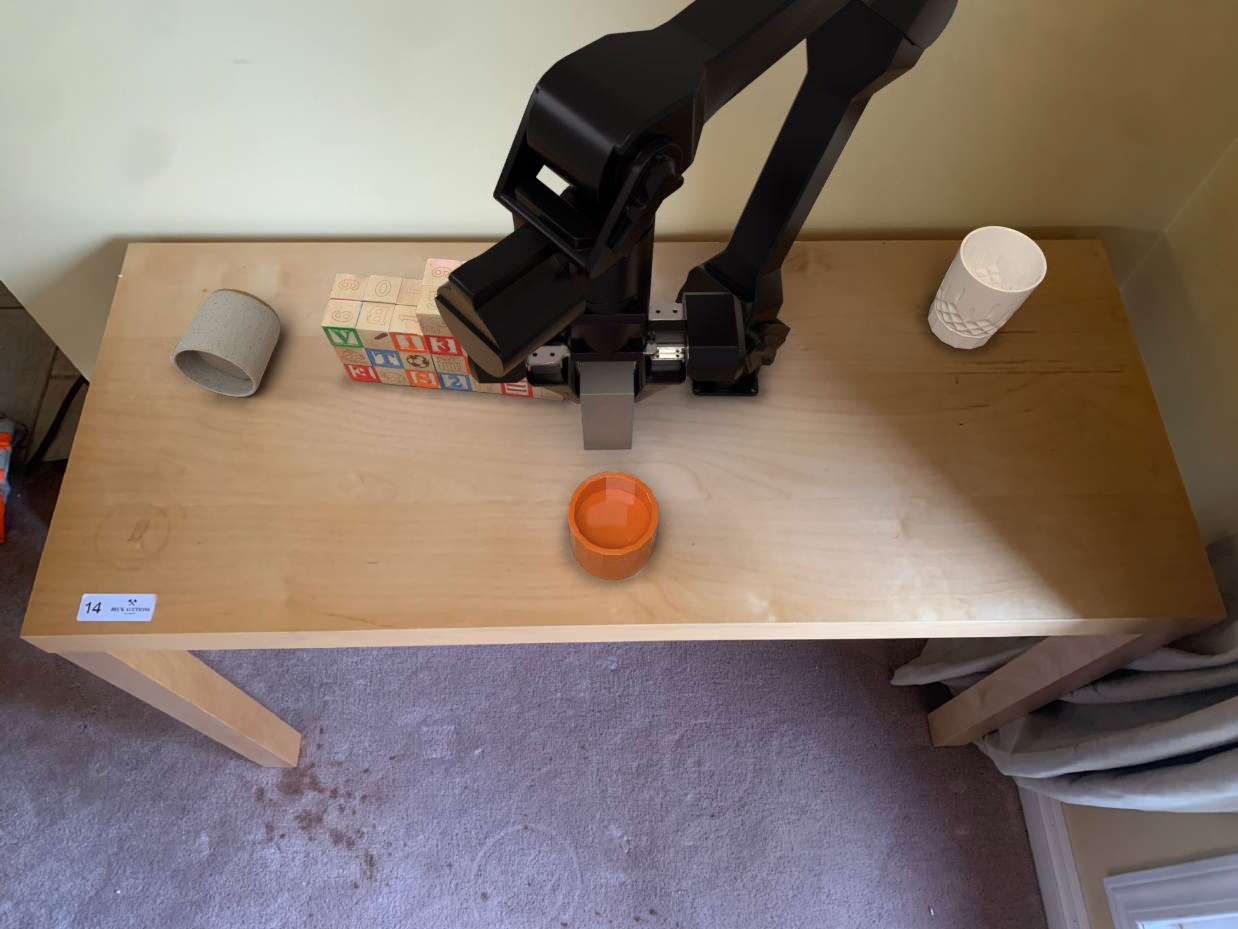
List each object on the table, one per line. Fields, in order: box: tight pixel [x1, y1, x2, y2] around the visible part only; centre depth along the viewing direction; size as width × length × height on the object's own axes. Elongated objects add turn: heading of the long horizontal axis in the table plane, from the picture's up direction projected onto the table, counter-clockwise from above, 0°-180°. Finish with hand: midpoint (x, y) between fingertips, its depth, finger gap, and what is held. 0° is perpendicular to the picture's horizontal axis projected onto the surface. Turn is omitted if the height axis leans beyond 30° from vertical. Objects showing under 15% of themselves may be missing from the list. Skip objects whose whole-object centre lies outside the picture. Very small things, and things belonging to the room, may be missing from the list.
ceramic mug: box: [169, 288, 282, 398], centre depth 74 cm, size 11×8×8 cm
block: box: [579, 361, 635, 451], centre depth 62 cm, size 4×4×9 cm
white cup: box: [927, 225, 1048, 350], centre depth 77 cm, size 8×8×10 cm
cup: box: [567, 471, 659, 581], centre depth 67 cm, size 7×7×6 cm
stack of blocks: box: [320, 257, 565, 401], centre depth 73 cm, size 21×6×12 cm, turn 85°
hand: (607, 398), depth 62 cm, fingers closed on block, 4 cm apart
